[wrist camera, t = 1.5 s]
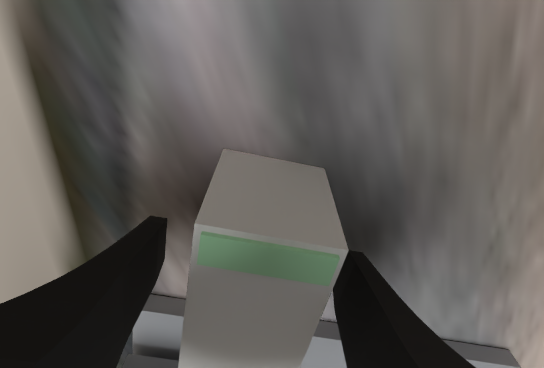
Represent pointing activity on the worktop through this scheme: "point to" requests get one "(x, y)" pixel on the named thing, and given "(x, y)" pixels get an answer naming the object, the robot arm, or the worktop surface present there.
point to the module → (260, 264)
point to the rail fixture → (316, 364)
